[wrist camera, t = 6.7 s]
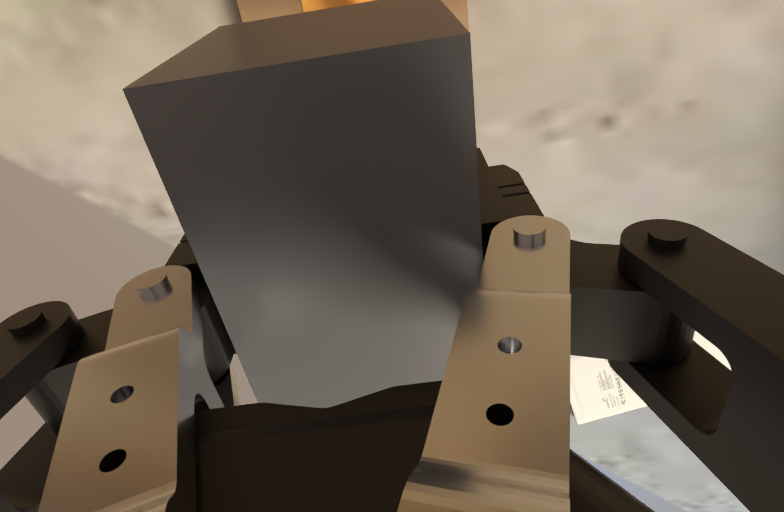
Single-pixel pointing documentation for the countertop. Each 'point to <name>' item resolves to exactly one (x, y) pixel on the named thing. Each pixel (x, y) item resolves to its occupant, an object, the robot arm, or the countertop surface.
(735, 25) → the countertop surface
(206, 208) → the block
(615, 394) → the external hard drive
